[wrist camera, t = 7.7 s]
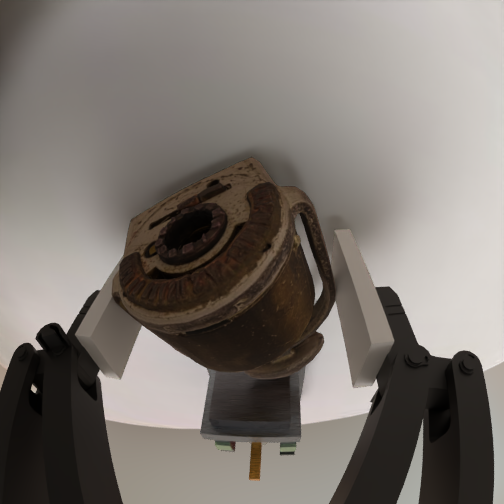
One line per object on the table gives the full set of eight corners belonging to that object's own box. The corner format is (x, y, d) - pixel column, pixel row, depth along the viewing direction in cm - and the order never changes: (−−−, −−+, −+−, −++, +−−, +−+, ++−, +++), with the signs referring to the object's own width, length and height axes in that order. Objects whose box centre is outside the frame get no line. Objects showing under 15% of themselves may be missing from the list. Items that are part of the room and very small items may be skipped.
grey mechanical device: (218, 356, 19) (202, 457, 13) (289, 356, 19) (290, 460, 12) (234, 412, 25) (227, 481, 19) (285, 412, 24) (285, 483, 18)
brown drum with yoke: (434, 194, 6) (38, 221, 5) (349, 435, 12) (161, 462, 11) (331, 153, 13) (118, 166, 11) (311, 349, 19) (164, 366, 17)
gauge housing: (206, 351, 21) (191, 432, 15) (305, 351, 20) (310, 436, 15) (221, 396, 26) (213, 459, 20) (299, 397, 25) (300, 461, 19)
